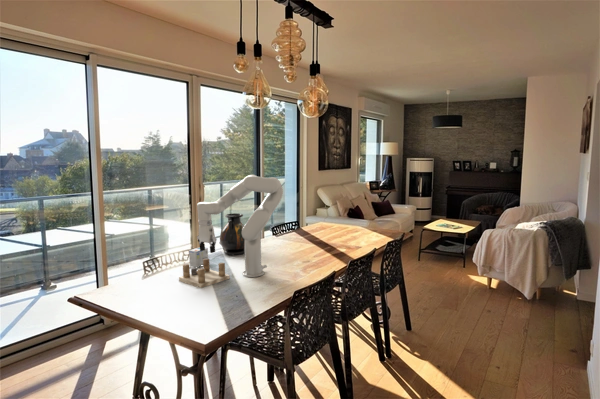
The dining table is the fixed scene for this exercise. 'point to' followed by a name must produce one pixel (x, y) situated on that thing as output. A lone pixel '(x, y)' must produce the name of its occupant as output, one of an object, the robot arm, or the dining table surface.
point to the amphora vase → (233, 235)
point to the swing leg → (205, 266)
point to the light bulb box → (197, 256)
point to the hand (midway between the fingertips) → (207, 251)
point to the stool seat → (204, 276)
